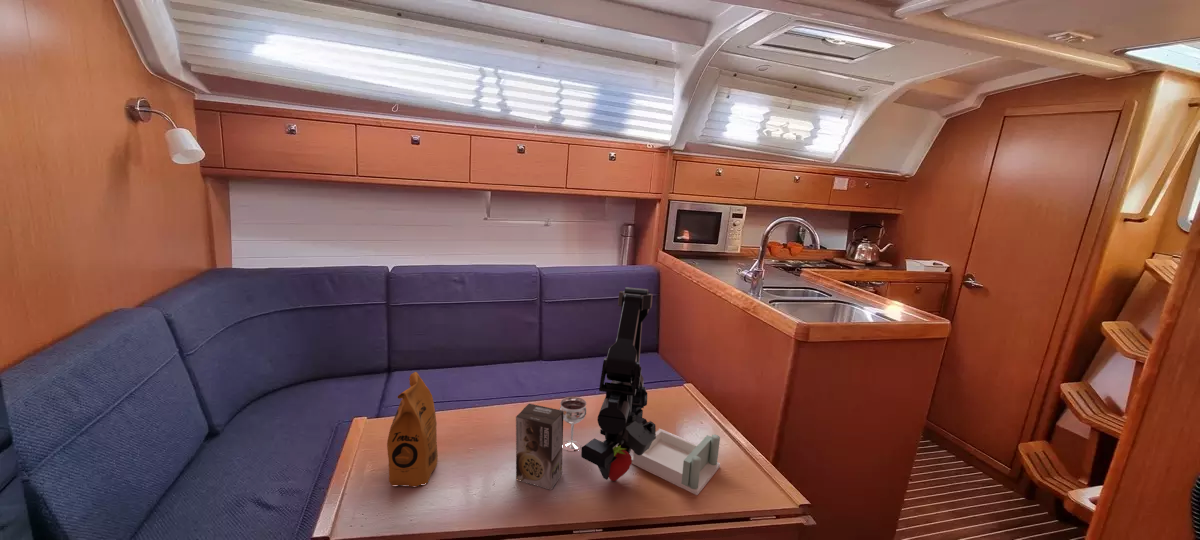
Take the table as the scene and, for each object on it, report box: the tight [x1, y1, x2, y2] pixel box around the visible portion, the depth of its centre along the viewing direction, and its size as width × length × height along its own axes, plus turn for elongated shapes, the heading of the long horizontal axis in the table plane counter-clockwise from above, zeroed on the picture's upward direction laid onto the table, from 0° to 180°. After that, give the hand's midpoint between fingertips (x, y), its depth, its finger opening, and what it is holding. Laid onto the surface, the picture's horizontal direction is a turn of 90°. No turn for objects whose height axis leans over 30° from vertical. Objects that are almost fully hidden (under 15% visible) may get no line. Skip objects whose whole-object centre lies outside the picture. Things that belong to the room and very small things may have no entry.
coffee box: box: [515, 403, 564, 491], centre depth 102 cm, size 9×6×16 cm
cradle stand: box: [631, 428, 721, 496], centre depth 109 cm, size 18×13×8 cm
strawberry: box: [608, 445, 632, 482], centre depth 102 cm, size 6×8×10 cm
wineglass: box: [559, 396, 587, 449], centre depth 114 cm, size 7×7×12 cm
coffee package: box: [386, 371, 439, 487], centre depth 101 cm, size 10×12×22 cm
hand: (614, 471), depth 103 cm, fingers closed on strawberry, 6 cm apart
